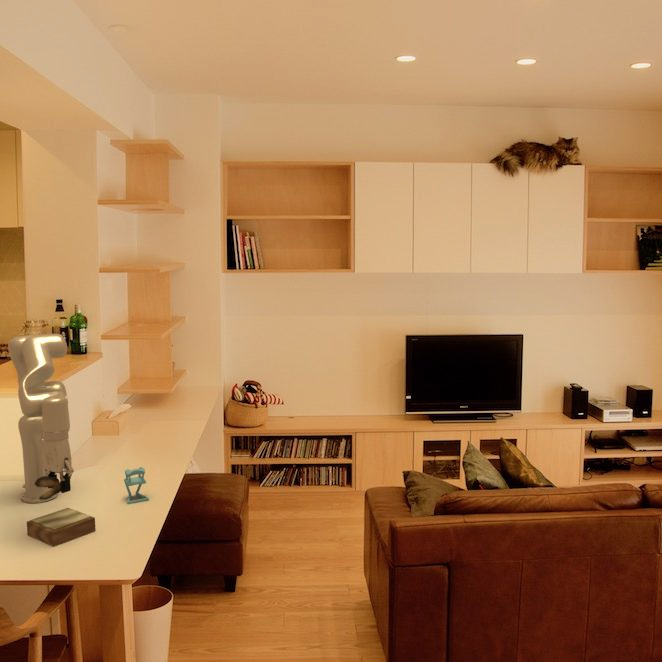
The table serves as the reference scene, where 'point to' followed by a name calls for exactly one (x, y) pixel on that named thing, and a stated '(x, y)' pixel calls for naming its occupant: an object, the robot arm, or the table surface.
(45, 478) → the eagle figurine
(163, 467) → the table surface
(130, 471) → the chair
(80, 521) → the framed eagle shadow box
